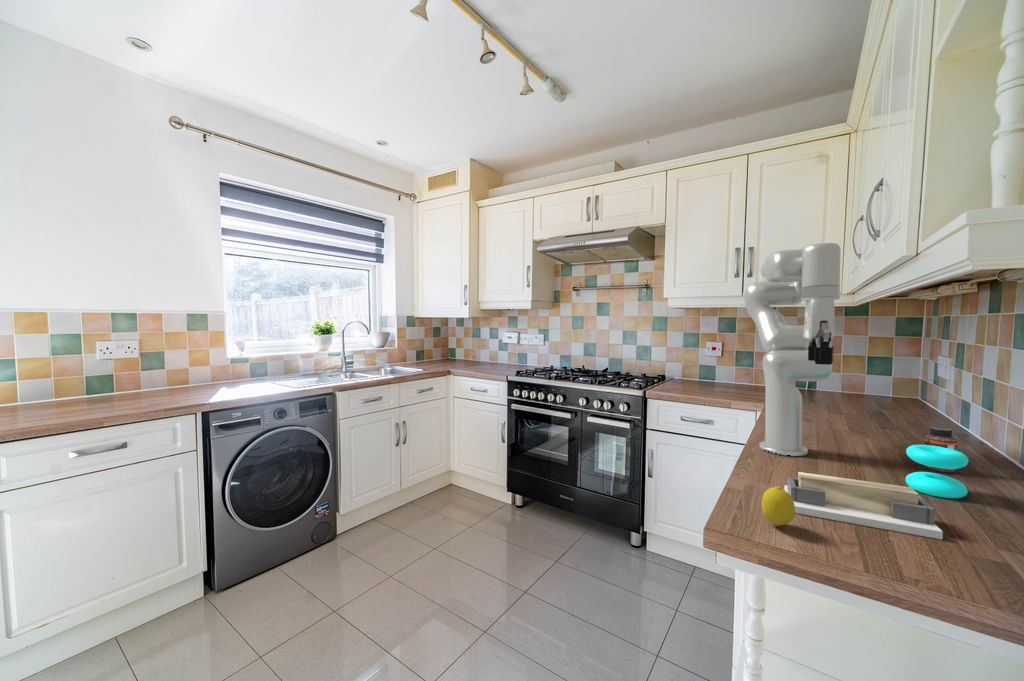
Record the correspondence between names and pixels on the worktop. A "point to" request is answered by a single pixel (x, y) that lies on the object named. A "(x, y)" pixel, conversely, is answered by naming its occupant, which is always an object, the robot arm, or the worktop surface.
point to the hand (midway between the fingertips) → (819, 362)
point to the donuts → (933, 481)
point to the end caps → (898, 509)
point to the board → (868, 519)
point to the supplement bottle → (941, 443)
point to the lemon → (778, 506)
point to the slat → (858, 492)
